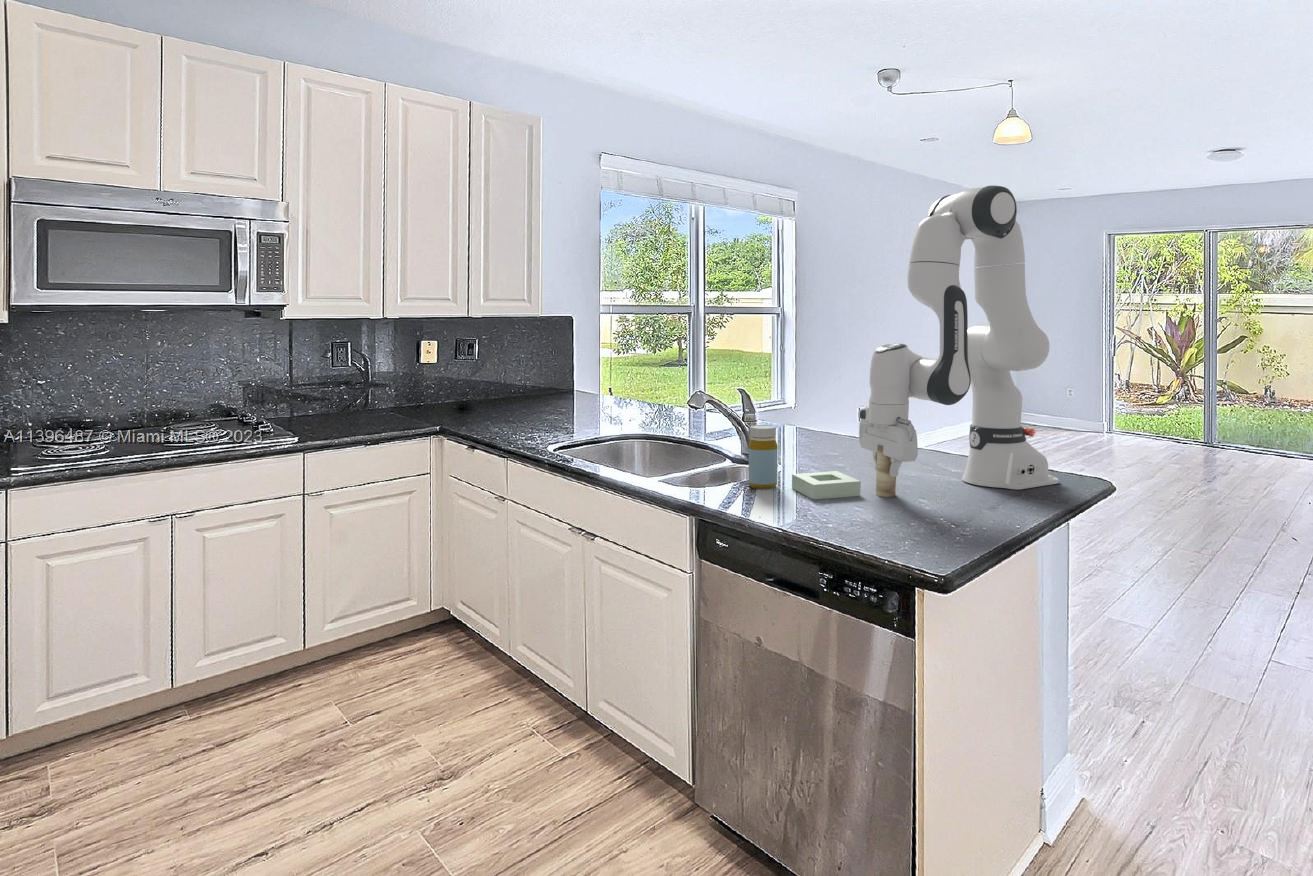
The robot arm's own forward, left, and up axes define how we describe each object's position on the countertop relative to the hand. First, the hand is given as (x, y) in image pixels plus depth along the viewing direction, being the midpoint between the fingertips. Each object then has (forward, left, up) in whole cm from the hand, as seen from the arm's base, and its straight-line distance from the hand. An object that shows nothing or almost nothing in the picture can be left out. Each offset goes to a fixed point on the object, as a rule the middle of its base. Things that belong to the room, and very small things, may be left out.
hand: (886, 473), depth 182 cm
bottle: (+24, -17, -5) cm, 30 cm away
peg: (0, 0, -5) cm, 5 cm away
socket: (+12, -7, -5) cm, 15 cm away
